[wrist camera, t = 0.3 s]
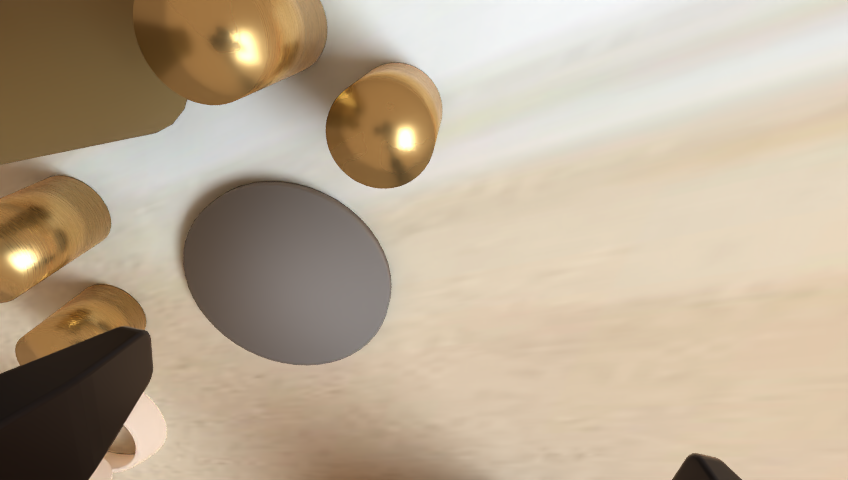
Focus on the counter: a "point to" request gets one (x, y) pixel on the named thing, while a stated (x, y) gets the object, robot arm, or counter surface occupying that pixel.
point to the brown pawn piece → (75, 78)
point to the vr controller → (136, 439)
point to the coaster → (287, 273)
